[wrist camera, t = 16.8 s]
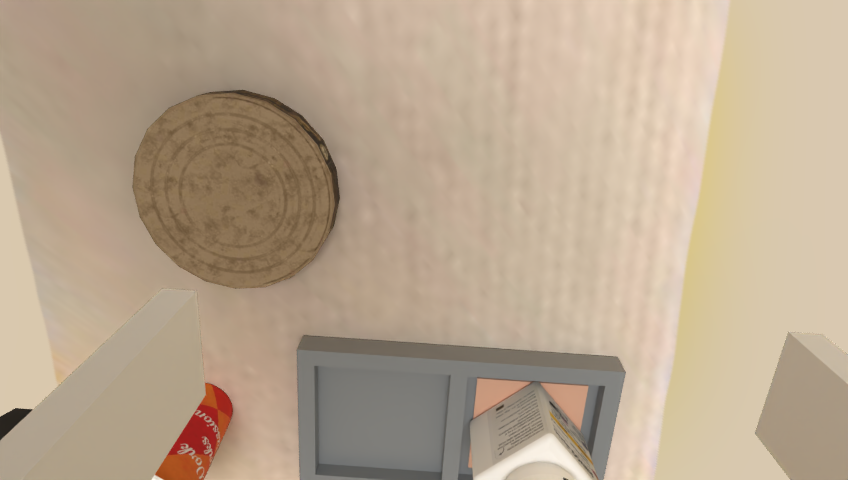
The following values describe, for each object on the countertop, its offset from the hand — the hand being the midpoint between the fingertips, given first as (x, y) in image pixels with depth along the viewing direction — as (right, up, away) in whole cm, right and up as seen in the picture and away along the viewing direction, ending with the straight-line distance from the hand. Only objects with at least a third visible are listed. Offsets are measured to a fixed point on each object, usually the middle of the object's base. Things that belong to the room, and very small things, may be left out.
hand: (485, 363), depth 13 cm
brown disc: (-16, +7, +35) cm, 39 cm away
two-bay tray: (+1, -14, +41) cm, 43 cm away
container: (+8, -15, +40) cm, 44 cm away
